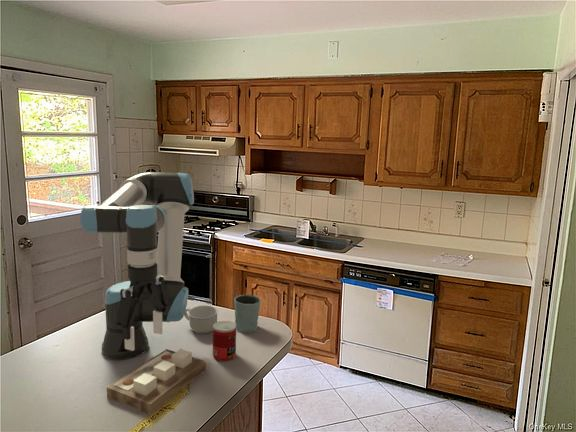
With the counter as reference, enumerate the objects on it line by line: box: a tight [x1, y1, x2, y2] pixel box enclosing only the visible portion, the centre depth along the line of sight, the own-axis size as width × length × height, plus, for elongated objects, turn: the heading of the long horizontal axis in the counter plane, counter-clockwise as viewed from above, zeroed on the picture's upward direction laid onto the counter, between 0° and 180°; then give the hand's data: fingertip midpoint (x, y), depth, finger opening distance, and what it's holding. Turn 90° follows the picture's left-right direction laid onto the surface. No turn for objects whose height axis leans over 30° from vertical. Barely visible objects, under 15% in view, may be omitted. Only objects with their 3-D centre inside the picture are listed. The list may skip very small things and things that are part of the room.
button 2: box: [172, 348, 193, 369], centre depth 135 cm, size 4×4×4 cm
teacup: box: [183, 304, 218, 335], centre depth 164 cm, size 14×11×8 cm
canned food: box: [212, 320, 237, 362], centre depth 145 cm, size 8×8×11 cm
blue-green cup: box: [233, 294, 261, 334], centre depth 167 cm, size 10×10×12 cm
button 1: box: [133, 373, 157, 396], centre depth 121 cm, size 4×4×4 cm
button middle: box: [153, 360, 175, 382], centre depth 128 cm, size 4×4×4 cm
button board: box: [106, 348, 207, 415], centre depth 129 cm, size 16×25×3 cm, turn 155°
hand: (144, 340), depth 118 cm, fingers open, 10 cm apart
